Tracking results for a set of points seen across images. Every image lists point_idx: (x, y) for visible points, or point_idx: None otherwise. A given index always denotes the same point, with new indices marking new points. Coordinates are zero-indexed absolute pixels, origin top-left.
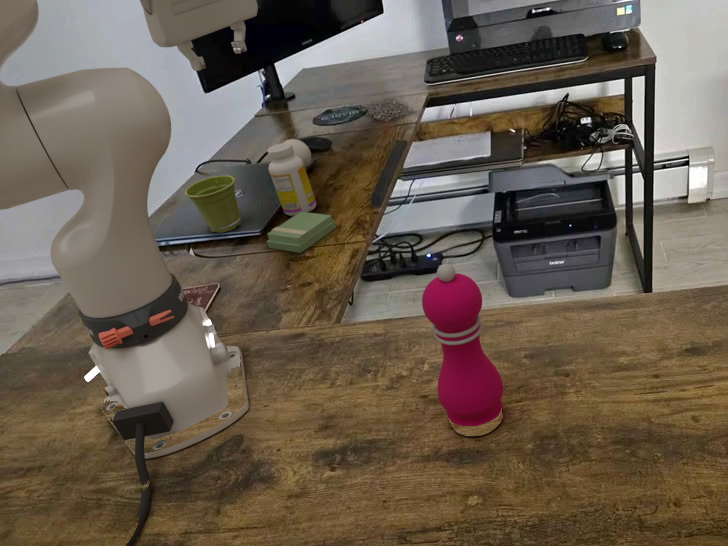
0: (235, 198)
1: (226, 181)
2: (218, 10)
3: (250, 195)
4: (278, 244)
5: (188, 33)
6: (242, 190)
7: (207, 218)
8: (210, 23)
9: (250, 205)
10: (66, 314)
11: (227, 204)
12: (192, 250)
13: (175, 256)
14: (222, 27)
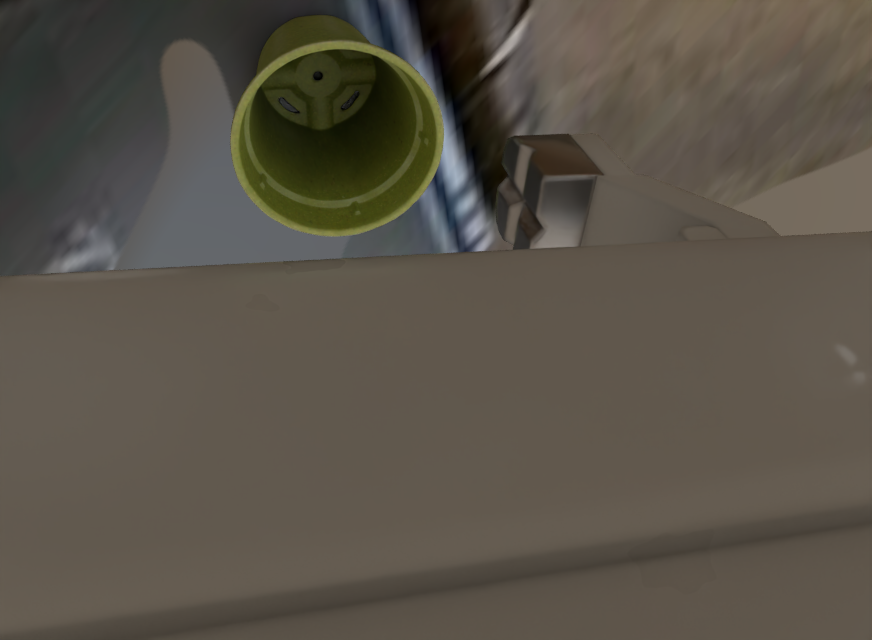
0: (281, 51)
1: (243, 145)
2: (96, 461)
3: (63, 196)
4: None
5: (843, 266)
6: (43, 265)
7: (394, 94)
8: (407, 313)
9: (135, 121)
10: (838, 126)
11: (342, 37)
12: (496, 54)
13: (538, 83)
14: (150, 271)
